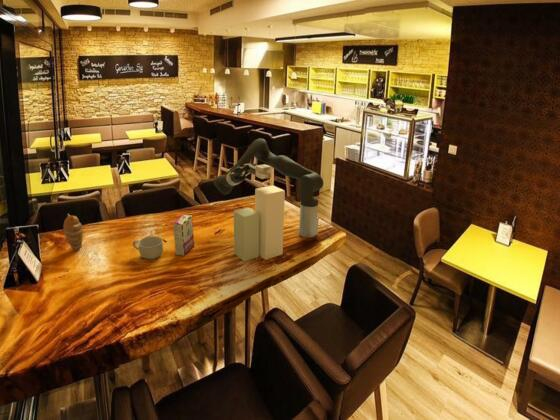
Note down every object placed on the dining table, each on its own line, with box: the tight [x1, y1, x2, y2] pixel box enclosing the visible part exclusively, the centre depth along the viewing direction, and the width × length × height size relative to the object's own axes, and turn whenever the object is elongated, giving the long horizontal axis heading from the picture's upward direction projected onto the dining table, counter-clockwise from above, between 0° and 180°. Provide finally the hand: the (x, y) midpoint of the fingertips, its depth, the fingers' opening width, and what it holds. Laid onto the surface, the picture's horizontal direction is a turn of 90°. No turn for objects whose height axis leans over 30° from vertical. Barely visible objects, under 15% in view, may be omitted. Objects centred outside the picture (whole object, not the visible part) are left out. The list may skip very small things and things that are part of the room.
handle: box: [244, 163, 272, 180], centre depth 178 cm, size 5×17×5 cm, turn 36°
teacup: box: [132, 235, 164, 260], centre depth 177 cm, size 14×11×8 cm
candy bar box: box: [172, 214, 195, 257], centre depth 182 cm, size 11×5×16 cm, turn 168°
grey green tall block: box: [233, 207, 260, 262], centre depth 178 cm, size 8×9×22 cm
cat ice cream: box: [62, 213, 84, 251], centre depth 179 cm, size 9×8×18 cm
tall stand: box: [254, 185, 286, 261], centre depth 179 cm, size 10×9×32 cm
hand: (251, 166), depth 181 cm, fingers closed on handle, 3 cm apart
